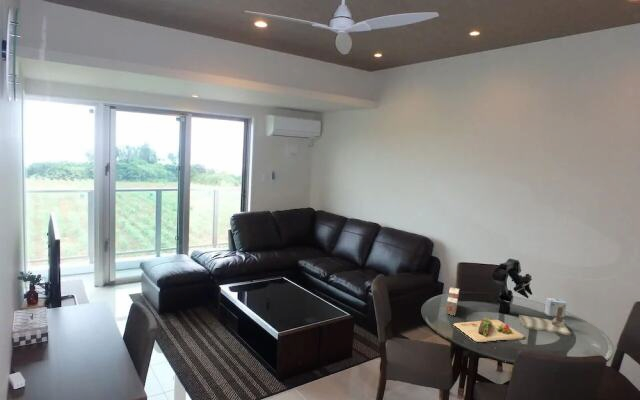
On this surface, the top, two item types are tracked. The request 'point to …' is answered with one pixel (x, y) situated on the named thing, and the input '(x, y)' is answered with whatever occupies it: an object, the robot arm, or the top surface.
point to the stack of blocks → (452, 301)
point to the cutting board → (488, 330)
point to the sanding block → (559, 318)
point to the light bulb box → (554, 306)
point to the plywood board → (542, 325)
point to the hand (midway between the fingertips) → (530, 296)
